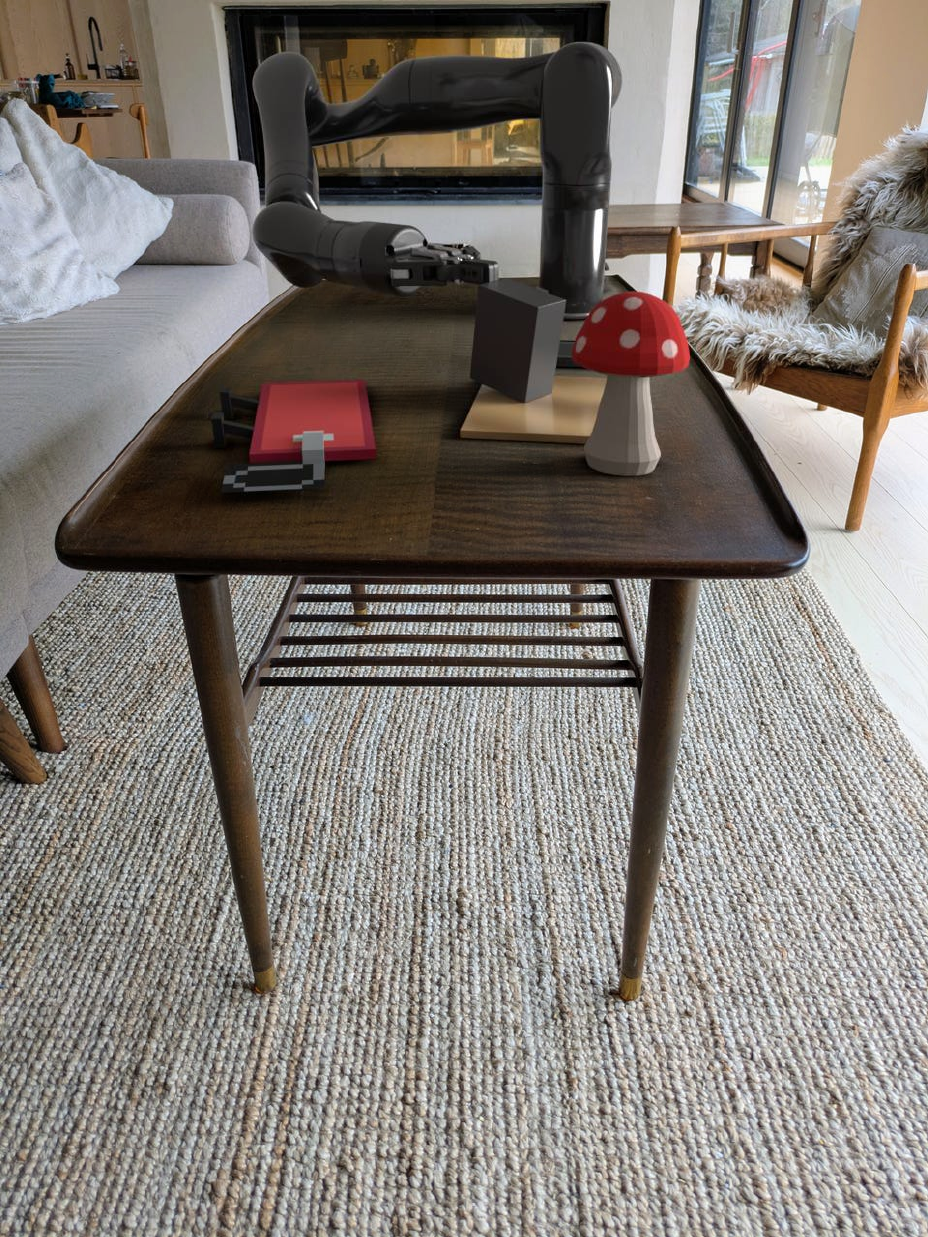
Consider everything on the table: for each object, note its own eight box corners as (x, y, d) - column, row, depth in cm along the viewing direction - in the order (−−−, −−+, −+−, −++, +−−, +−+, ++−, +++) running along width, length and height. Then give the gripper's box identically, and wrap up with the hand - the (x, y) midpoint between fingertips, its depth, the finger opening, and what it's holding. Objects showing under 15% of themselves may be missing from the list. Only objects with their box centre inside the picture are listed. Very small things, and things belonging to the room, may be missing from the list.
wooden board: (487, 380, 104) (487, 373, 103) (636, 385, 101) (637, 378, 101) (460, 437, 88) (460, 430, 87) (637, 446, 85) (638, 438, 85)
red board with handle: (198, 504, 74) (381, 495, 76) (193, 471, 73) (380, 463, 75) (229, 396, 100) (365, 392, 102) (226, 371, 98) (364, 367, 100)
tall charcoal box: (469, 378, 98) (478, 284, 92) (497, 369, 101) (508, 277, 95) (524, 403, 94) (538, 307, 88) (552, 393, 97) (567, 299, 91)
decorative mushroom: (554, 475, 79) (562, 299, 72) (578, 442, 86) (588, 278, 79) (668, 490, 76) (689, 307, 69) (683, 455, 83) (704, 285, 76)
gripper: (423, 282, 110) (534, 300, 99) (339, 301, 101) (450, 323, 91) (420, 215, 106) (535, 226, 95) (333, 229, 98) (448, 243, 87)
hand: (493, 273), depth 93 cm, fingers closed
